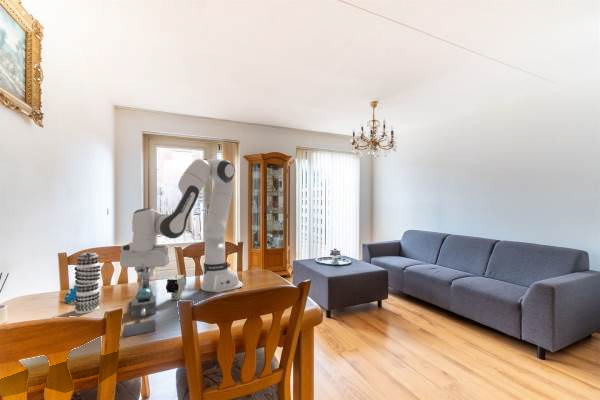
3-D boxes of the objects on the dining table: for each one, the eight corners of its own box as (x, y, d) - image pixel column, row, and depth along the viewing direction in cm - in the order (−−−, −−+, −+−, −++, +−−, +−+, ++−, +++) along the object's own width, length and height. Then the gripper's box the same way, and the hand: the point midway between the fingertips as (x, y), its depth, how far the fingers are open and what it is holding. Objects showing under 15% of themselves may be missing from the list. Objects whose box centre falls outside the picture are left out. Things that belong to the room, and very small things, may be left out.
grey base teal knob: (154, 296, 137) (155, 282, 137) (155, 319, 112) (156, 302, 112) (134, 299, 133) (134, 285, 133) (130, 323, 108) (130, 306, 108)
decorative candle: (84, 315, 115) (85, 255, 115) (68, 312, 118) (69, 254, 118) (105, 306, 124) (106, 251, 124) (89, 304, 126) (90, 250, 126)
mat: (154, 320, 110) (154, 319, 110) (154, 331, 102) (154, 330, 102) (125, 326, 106) (125, 325, 106) (122, 337, 97) (122, 336, 97)
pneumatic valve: (165, 303, 129) (165, 278, 129) (177, 294, 140) (177, 271, 140) (176, 303, 129) (177, 278, 129) (187, 295, 140) (188, 271, 140)
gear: (59, 297, 130) (78, 279, 136) (69, 303, 134) (87, 285, 140) (69, 305, 125) (88, 286, 130) (79, 311, 129) (98, 292, 134)
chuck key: (147, 284, 123) (146, 260, 123) (153, 284, 123) (152, 260, 122) (136, 290, 116) (135, 264, 116) (143, 290, 116) (142, 264, 115)
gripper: (171, 243, 122) (172, 274, 122) (126, 244, 123) (127, 274, 123) (164, 246, 116) (164, 278, 116) (116, 246, 116) (117, 279, 117)
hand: (145, 276), depth 120 cm, fingers closed on chuck key, 3 cm apart
